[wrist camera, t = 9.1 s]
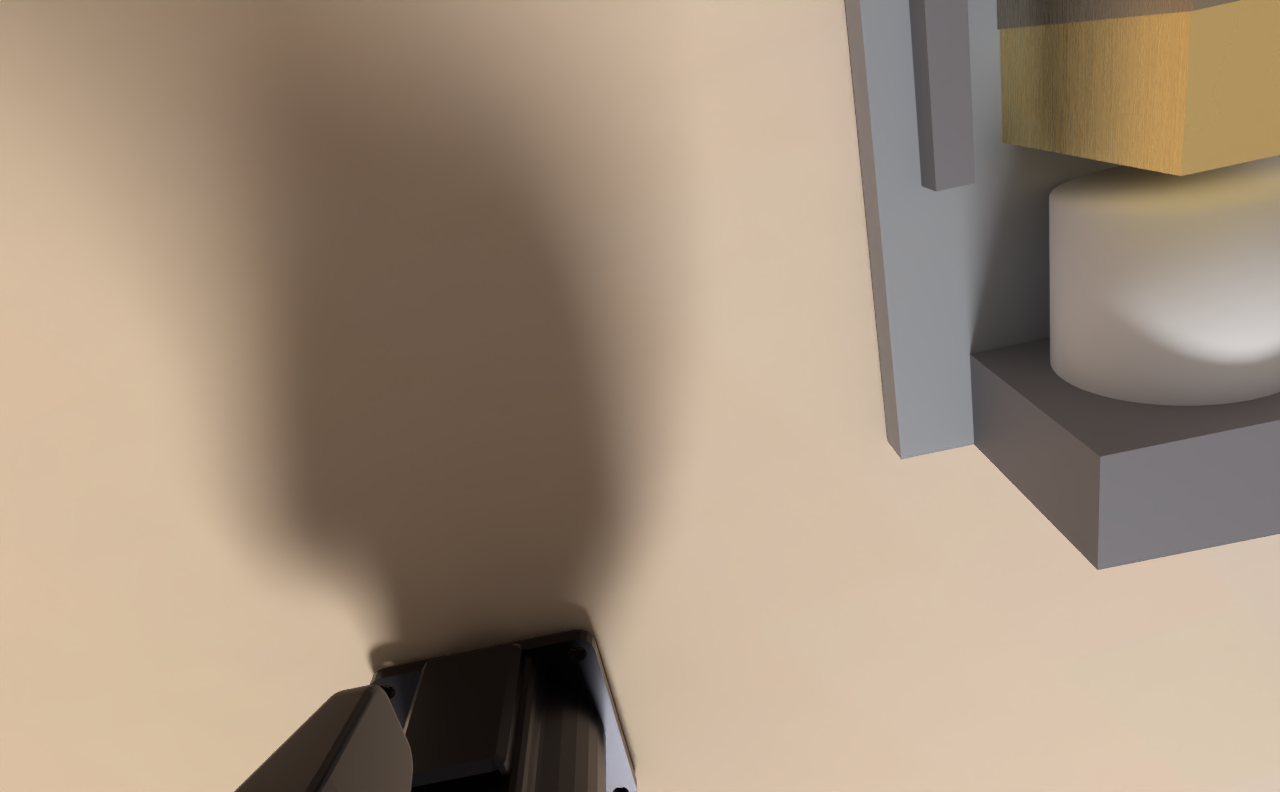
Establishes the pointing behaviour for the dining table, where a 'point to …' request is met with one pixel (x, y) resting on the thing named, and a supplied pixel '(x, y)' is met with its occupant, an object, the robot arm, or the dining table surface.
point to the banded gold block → (1143, 80)
